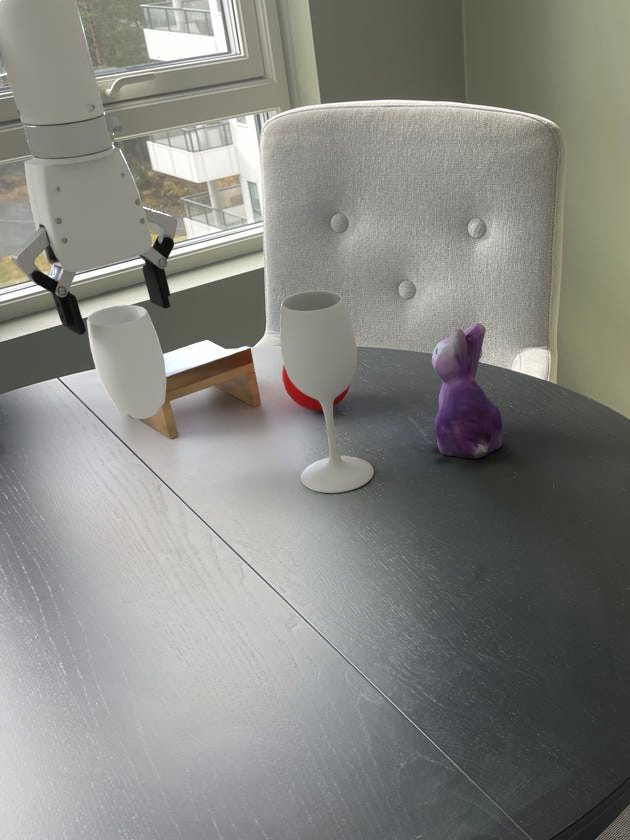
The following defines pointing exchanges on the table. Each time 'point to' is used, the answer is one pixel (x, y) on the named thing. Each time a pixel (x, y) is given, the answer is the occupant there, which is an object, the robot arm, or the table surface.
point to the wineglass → (322, 376)
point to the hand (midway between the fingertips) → (120, 318)
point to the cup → (128, 359)
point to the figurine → (464, 398)
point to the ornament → (305, 399)
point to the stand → (205, 378)
